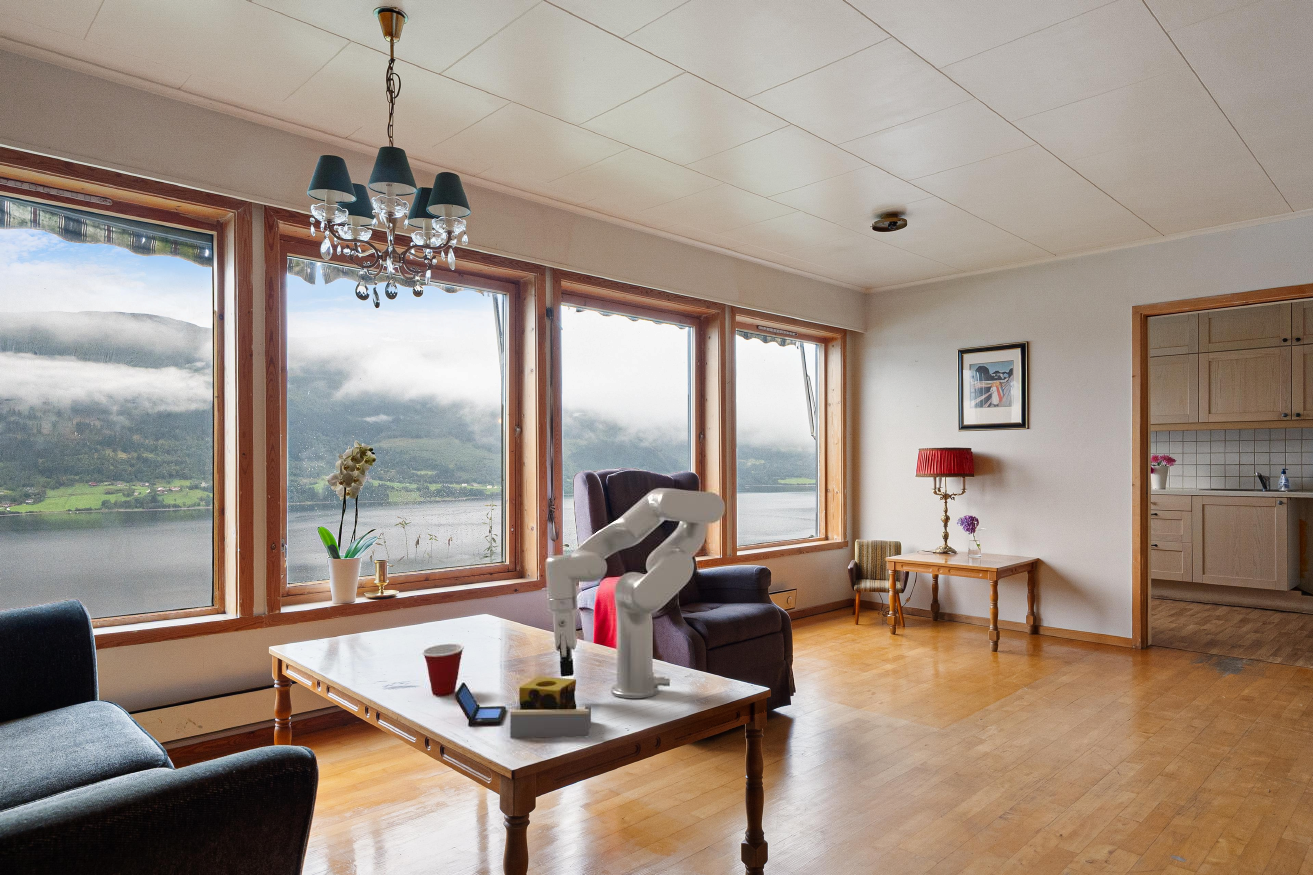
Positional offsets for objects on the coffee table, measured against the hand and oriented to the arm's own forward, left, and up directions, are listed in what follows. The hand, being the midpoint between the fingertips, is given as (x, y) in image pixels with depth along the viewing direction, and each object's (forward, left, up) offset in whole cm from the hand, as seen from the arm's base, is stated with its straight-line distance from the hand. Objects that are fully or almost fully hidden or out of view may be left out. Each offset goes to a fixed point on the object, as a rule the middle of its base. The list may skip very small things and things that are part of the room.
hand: (567, 675), depth 197 cm
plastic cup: (+34, -8, -7) cm, 35 cm away
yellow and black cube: (+3, +20, -7) cm, 21 cm away
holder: (+2, +22, -7) cm, 23 cm away
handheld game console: (+20, +13, -7) cm, 25 cm away
